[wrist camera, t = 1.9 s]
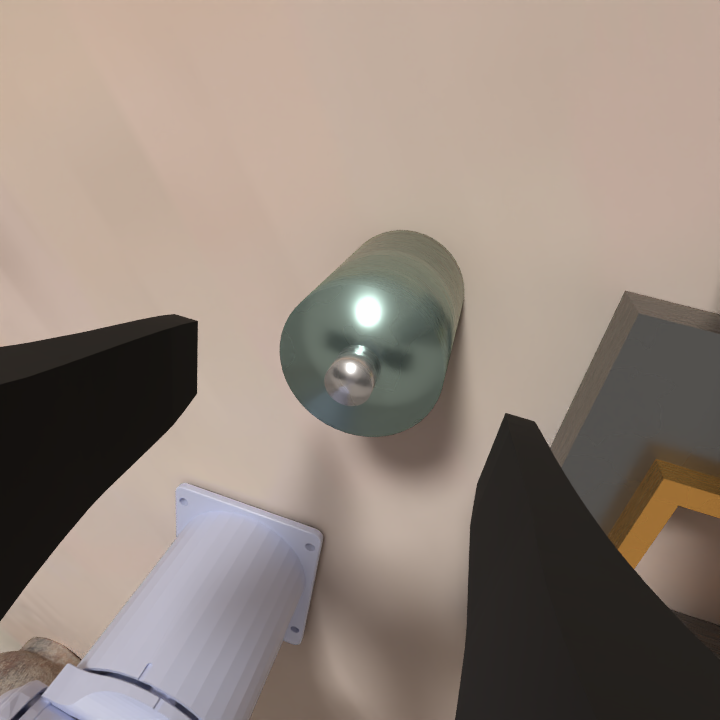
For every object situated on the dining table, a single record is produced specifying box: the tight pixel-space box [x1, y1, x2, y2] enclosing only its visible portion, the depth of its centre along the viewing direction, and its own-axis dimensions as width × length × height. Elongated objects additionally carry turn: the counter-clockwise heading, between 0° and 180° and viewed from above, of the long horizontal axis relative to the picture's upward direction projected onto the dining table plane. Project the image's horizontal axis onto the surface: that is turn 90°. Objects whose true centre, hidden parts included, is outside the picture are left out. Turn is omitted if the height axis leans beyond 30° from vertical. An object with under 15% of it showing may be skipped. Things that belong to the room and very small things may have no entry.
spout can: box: [280, 230, 464, 437], centre depth 15 cm, size 4×4×7 cm
